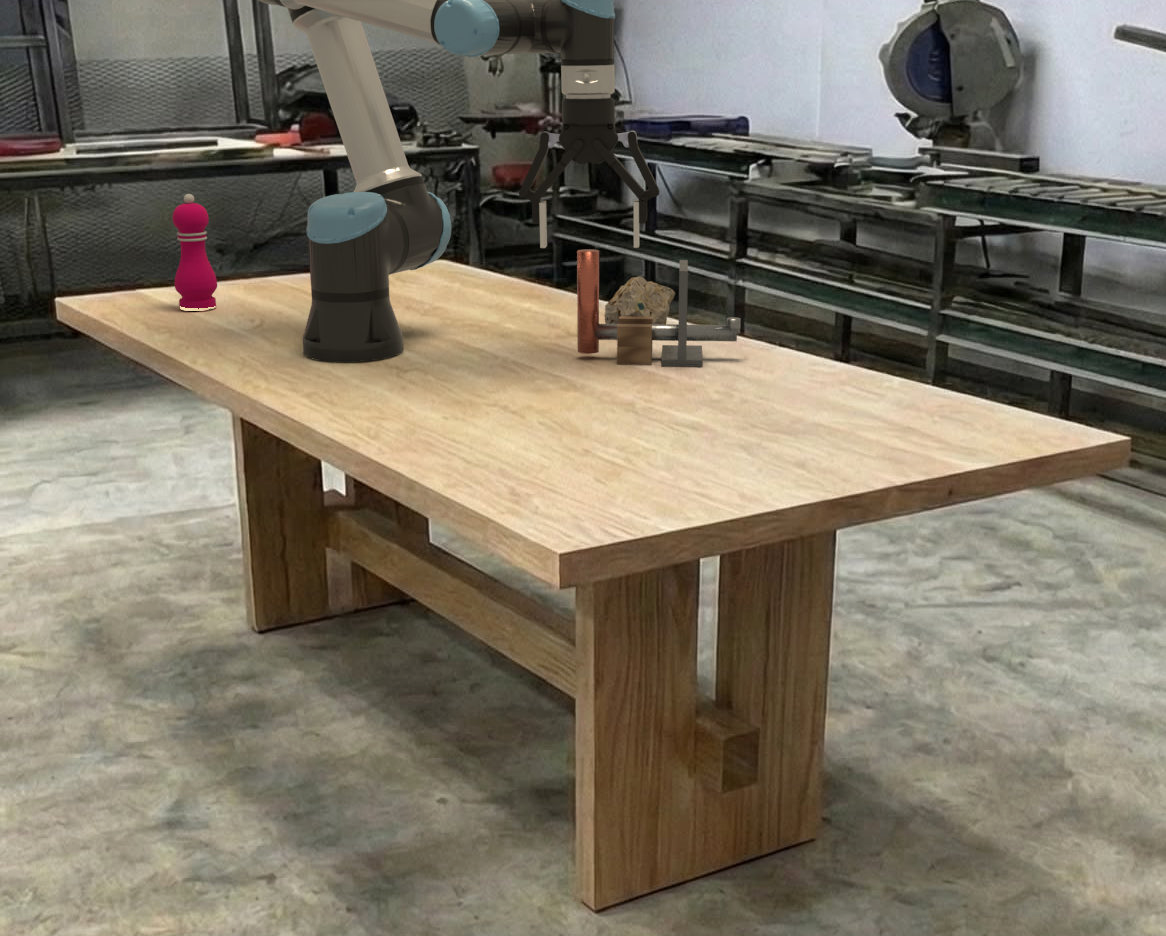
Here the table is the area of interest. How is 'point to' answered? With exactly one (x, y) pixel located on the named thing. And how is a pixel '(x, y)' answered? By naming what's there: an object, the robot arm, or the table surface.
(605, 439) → the table surface
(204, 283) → the pepper mill
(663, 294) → the rock
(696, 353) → the eye bracket
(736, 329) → the hook
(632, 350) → the cradle
